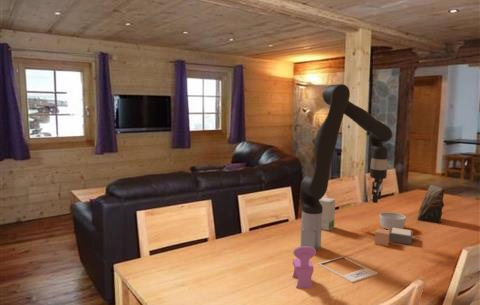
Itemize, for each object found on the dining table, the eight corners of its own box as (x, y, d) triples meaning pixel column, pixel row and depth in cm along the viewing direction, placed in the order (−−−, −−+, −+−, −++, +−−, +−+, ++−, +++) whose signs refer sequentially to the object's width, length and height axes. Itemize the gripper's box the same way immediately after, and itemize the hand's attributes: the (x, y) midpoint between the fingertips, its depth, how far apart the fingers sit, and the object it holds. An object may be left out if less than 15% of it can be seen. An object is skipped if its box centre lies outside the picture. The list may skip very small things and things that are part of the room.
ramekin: (400, 224, 204) (401, 212, 203) (408, 232, 191) (409, 220, 190) (376, 223, 205) (376, 211, 205) (382, 231, 192) (383, 218, 192)
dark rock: (424, 215, 222) (427, 183, 219) (447, 220, 213) (450, 186, 210) (416, 219, 213) (419, 186, 211) (439, 225, 204) (443, 190, 202)
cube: (387, 246, 172) (388, 234, 172) (374, 244, 175) (375, 232, 174) (388, 242, 178) (389, 230, 177) (375, 240, 180) (376, 228, 180)
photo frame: (352, 281, 136) (318, 262, 151) (351, 284, 136) (317, 265, 151) (377, 272, 144) (342, 255, 159) (377, 275, 144) (342, 258, 159)
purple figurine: (310, 276, 141) (312, 239, 139) (316, 288, 132) (318, 248, 130) (289, 276, 140) (290, 239, 138) (293, 288, 132) (294, 248, 130)
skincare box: (328, 231, 192) (329, 202, 189) (316, 228, 195) (317, 199, 193) (334, 227, 198) (336, 198, 196) (323, 224, 202) (324, 196, 200)
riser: (411, 244, 174) (412, 236, 174) (389, 241, 179) (389, 232, 178) (411, 238, 183) (412, 230, 183) (390, 234, 188) (391, 226, 187)
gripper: (384, 171, 168) (382, 205, 170) (389, 166, 180) (387, 198, 183) (367, 169, 172) (365, 203, 174) (373, 165, 184) (371, 196, 186)
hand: (376, 200), depth 178 cm, fingers open, 8 cm apart
